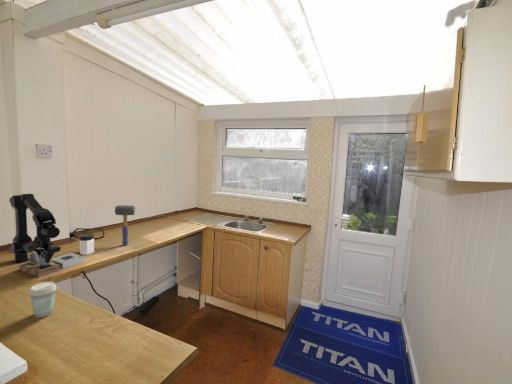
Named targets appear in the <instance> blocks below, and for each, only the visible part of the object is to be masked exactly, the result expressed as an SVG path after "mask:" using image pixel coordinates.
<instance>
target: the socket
mask: <svg viewBox="0 0 512 384" xmlns="http://www.w3.org/2000/svg"><path fill="white" fill-rule="evenodd" d="M50 262H53V263H56V264H59V265H60V269H65V268H68V267H71V266H74V265H76V264H77V265H78V264H81V263H83V262H85V255H84V256H83V255H81V254H77V253H73V252H70V253H65V254H61V255H59V256H56V257H52V258H51V260H50Z"/></svg>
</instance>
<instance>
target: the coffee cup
mask: <svg viewBox="0 0 512 384" xmlns="http://www.w3.org/2000/svg"><path fill="white" fill-rule="evenodd" d="M56 290H57V285H56V283H55V282H54V281H42V282H39V283H36V284H34V285H32V286H31V287H30V289H29V292H28V295H29V296H30V300H31V304H32V305H31V306H32V310H33V315H34V318H36V319H40V318H41V317H42V318H45V316H46V317H49V316H51V314H53V312H54V307H55V306H54V305H55V299H56V298H55V297H56Z"/></svg>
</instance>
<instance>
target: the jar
mask: <svg viewBox="0 0 512 384" xmlns="http://www.w3.org/2000/svg"><path fill="white" fill-rule="evenodd" d="M78 237H79V238H78V239H79V255H80V256H83V255H84V256H85V255H86V256H89V255H91V254H93V253H94V254H95V234H94V233H83V234H80V235H78Z"/></svg>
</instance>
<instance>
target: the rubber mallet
mask: <svg viewBox="0 0 512 384" xmlns="http://www.w3.org/2000/svg"><path fill="white" fill-rule="evenodd" d="M114 213H115V215H116V216H123V217H122V219H123V221H122V225H123V226H122V232H121V233H122V234H121V235H122V246H127V245H128V244H129V238H128V237H129V236H128V235H129V227H128V216H134V215H135V213H136V207H135V205H130V204H129V205H128V204H126V205H125V204H124V205H121V204H120V205H119V204H118V205H116V206H115V208H114Z"/></svg>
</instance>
